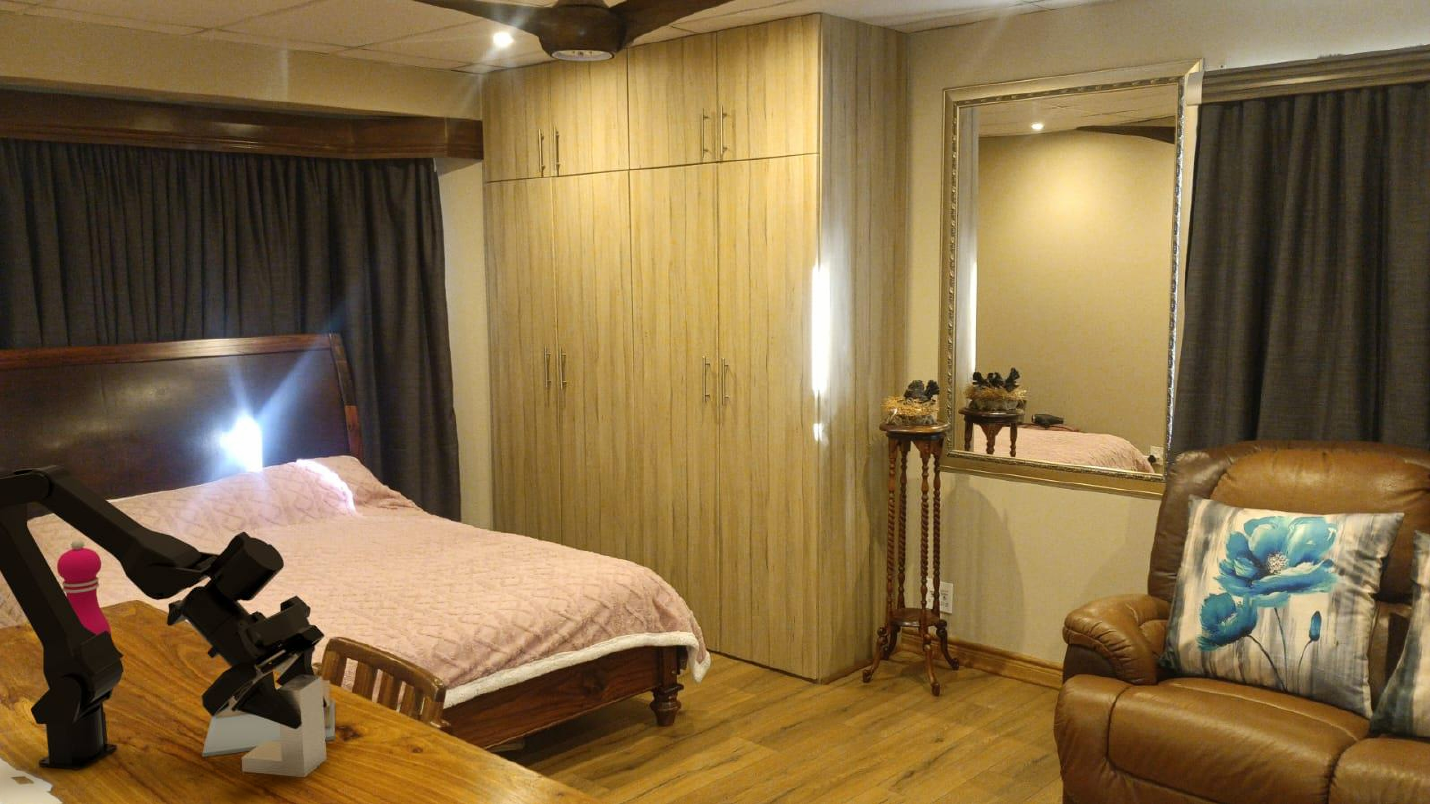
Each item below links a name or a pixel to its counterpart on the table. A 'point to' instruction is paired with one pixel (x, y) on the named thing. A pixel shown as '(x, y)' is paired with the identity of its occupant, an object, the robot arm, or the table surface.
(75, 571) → the pepper mill
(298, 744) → the bracket
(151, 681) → the table surface
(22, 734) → the table surface
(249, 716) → the slate board
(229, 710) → the board walls
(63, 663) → the robot arm
